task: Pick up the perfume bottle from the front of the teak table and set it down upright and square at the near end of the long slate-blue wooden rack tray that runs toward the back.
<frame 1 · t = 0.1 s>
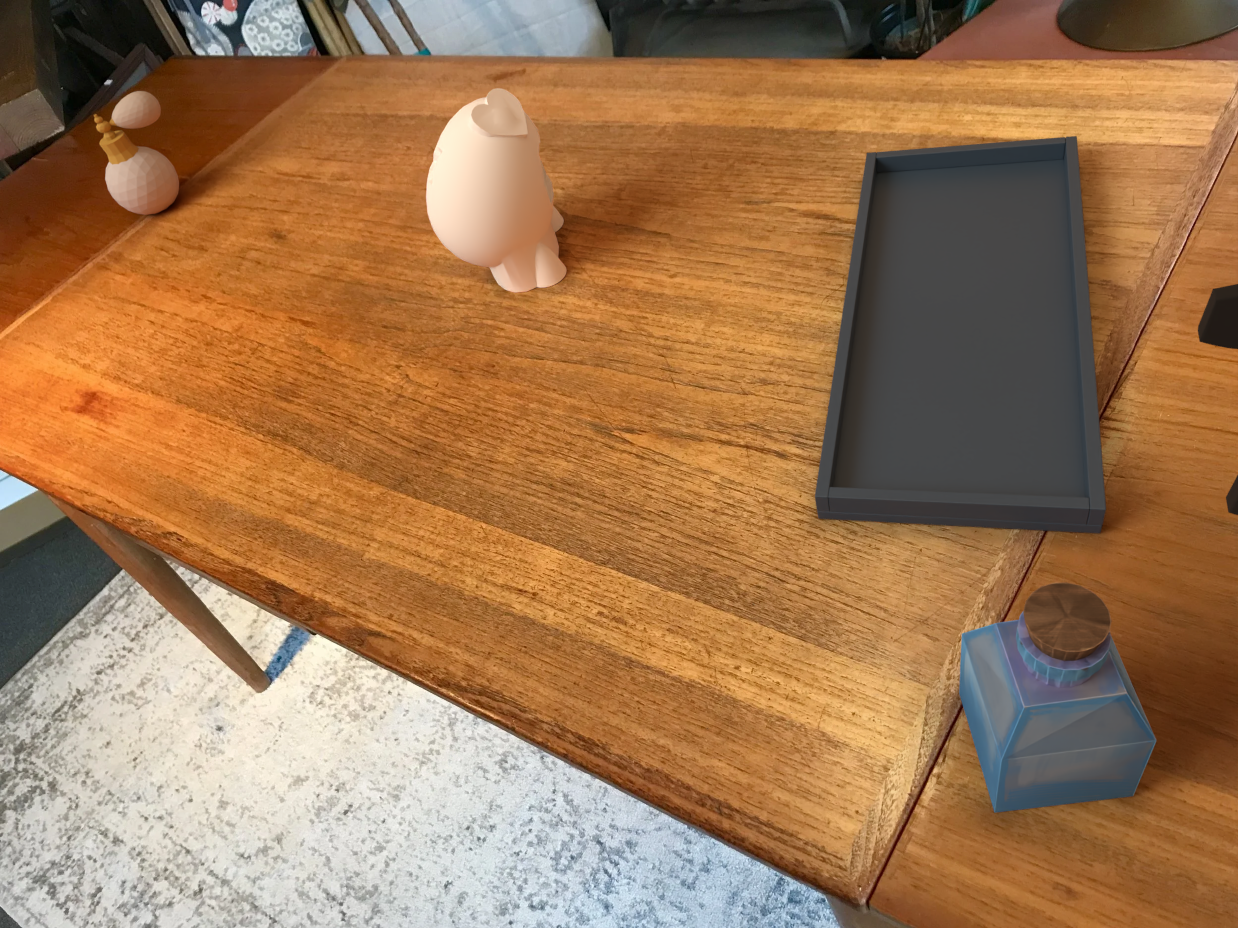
hand: (1220, 394, 31), 21 cm above the table, tool horizontal, fingers open, 7 cm apart
figurine: (518, 261, 83), on the table
rack tray: (961, 319, 65), on the table
perfume bottle 2: (169, 202, 109), on the table
perfume bottle: (1040, 743, 46), on the table
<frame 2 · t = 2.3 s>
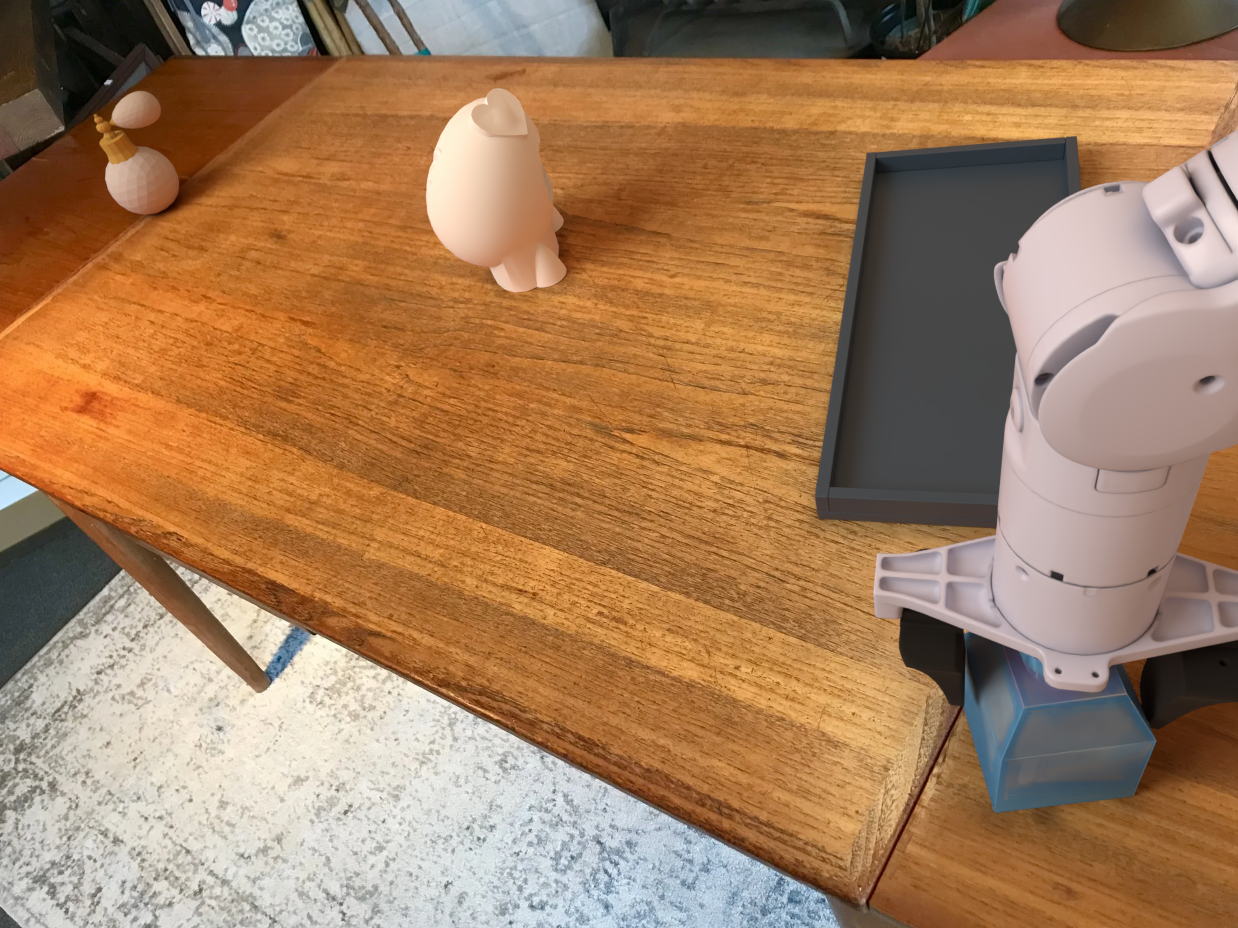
hand: (1049, 696, 42), 5 cm above the table, tool pointing down, fingers closed on perfume bottle, 7 cm apart
perfume bottle: (1040, 743, 46), on the table, touching gripper
everything else where it was.
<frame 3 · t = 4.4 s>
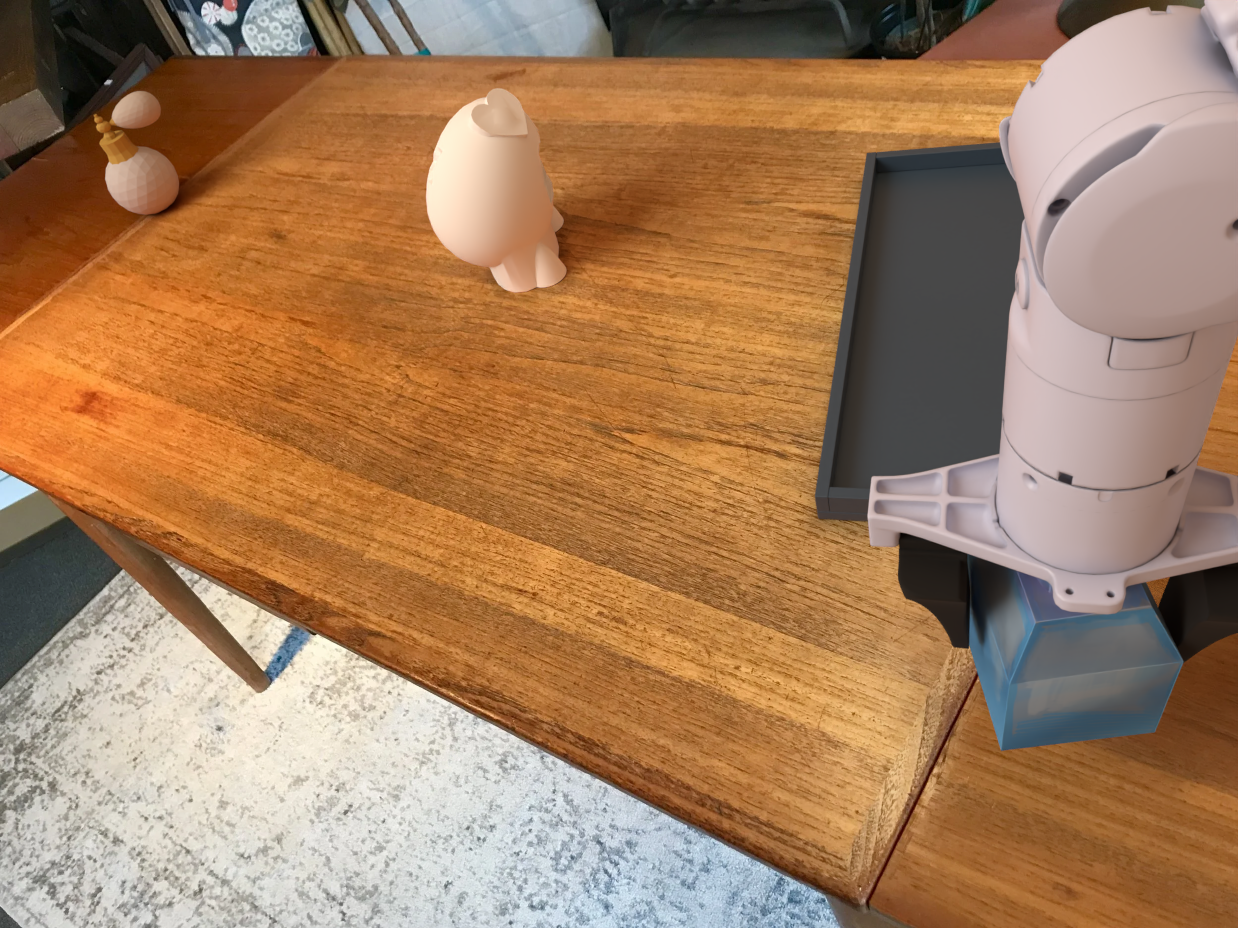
hand: (1059, 636, 39), 9 cm above the table, tool pointing down, fingers closed on perfume bottle, 7 cm apart
perfume bottle: (1052, 677, 42), point 6 cm above the table, touching gripper
everything else where it was.
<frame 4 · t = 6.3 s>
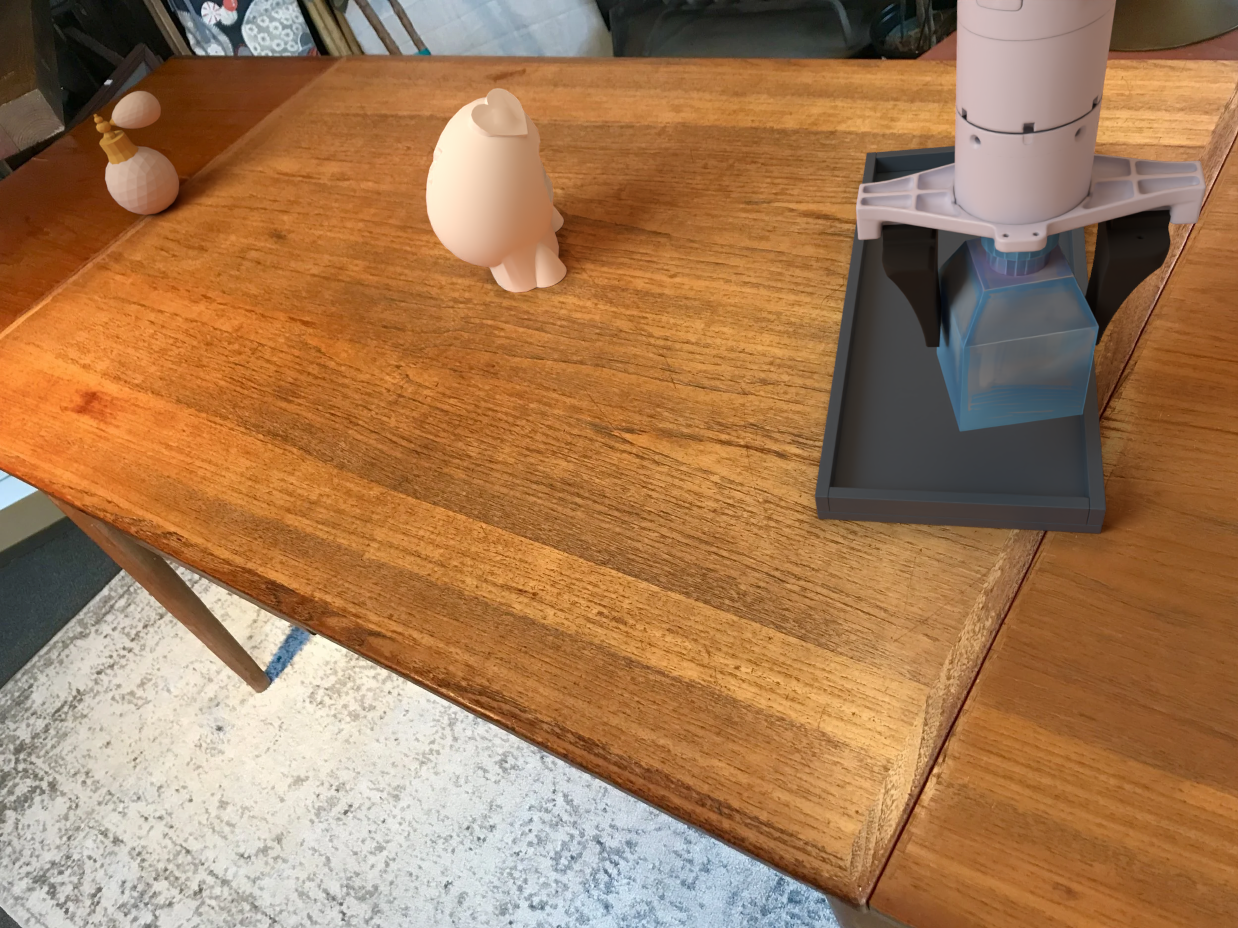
hand: (1009, 333, 49), 10 cm above the table, tool pointing down, fingers closed on perfume bottle, 7 cm apart
perfume bottle: (1005, 384, 52), point 7 cm above the table, touching gripper
everything else where it was.
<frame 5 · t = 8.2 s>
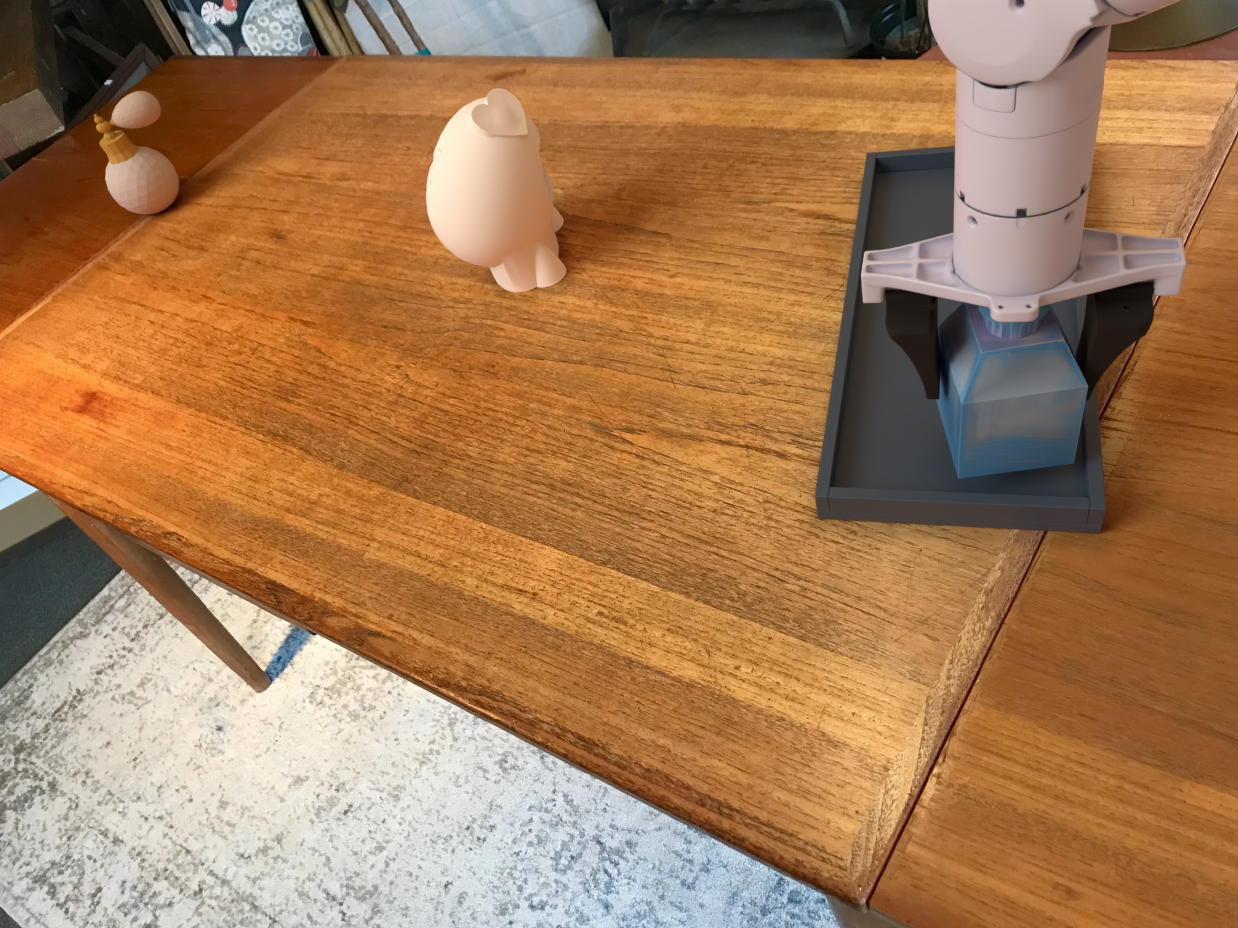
hand: (1004, 387, 52), 6 cm above the table, tool pointing down, fingers closed on perfume bottle, 7 cm apart
perfume bottle: (1001, 433, 55), point 3 cm above the table, touching gripper
everything else where it was.
when the fingers open (4 cm above the table, at t = 10.1 s): perfume bottle stays where it is, resting on rack tray.
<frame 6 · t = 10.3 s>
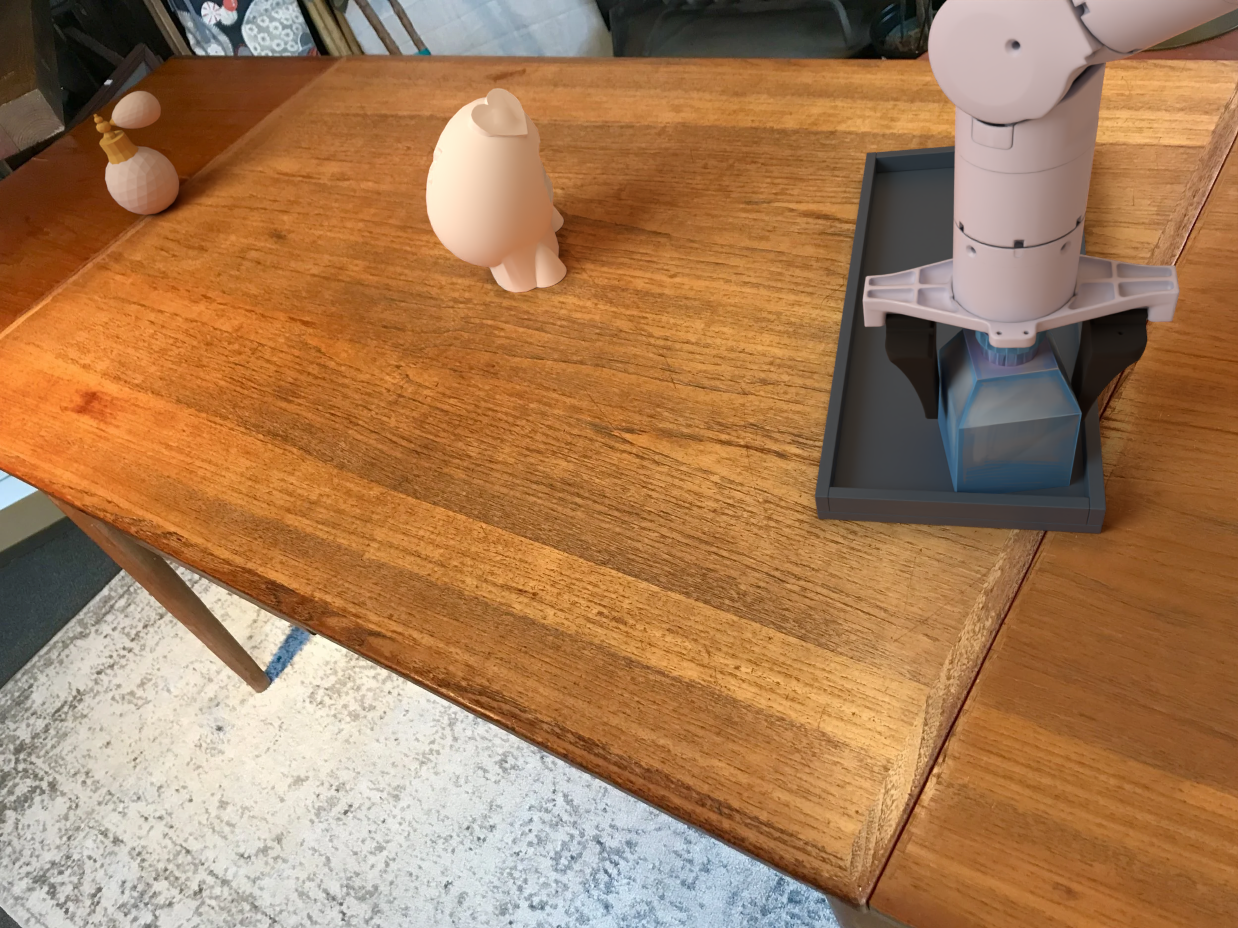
hand: (1002, 407, 54), 5 cm above the table, tool pointing down, fingers open, 7 cm apart
perfume bottle: (1000, 454, 56), point 1 cm above the table, touching rack tray
everything else where it was.
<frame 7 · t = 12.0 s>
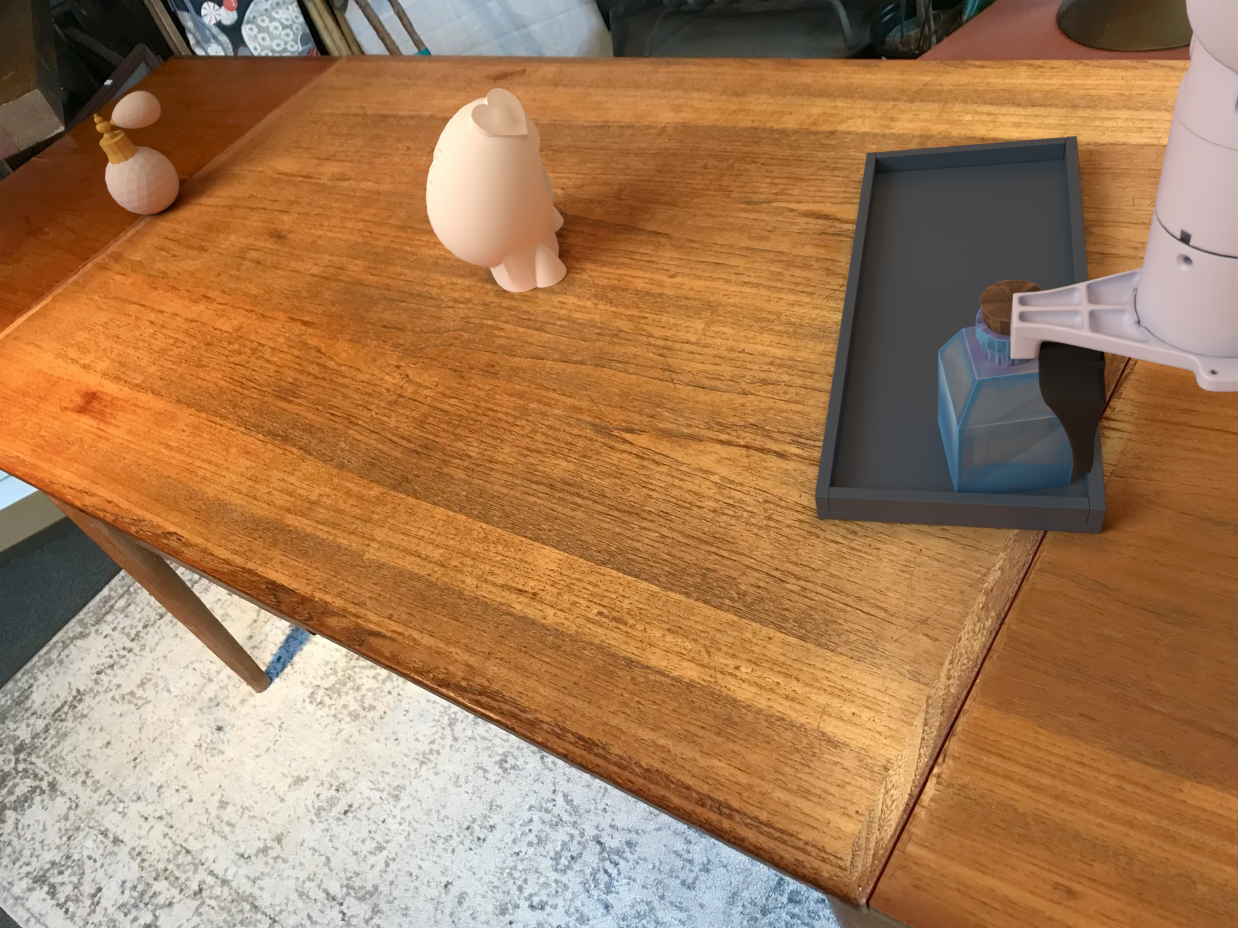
hand: (1175, 458, 42), 10 cm above the table, tool pointing down, fingers open, 7 cm apart
nothing on the table moved.
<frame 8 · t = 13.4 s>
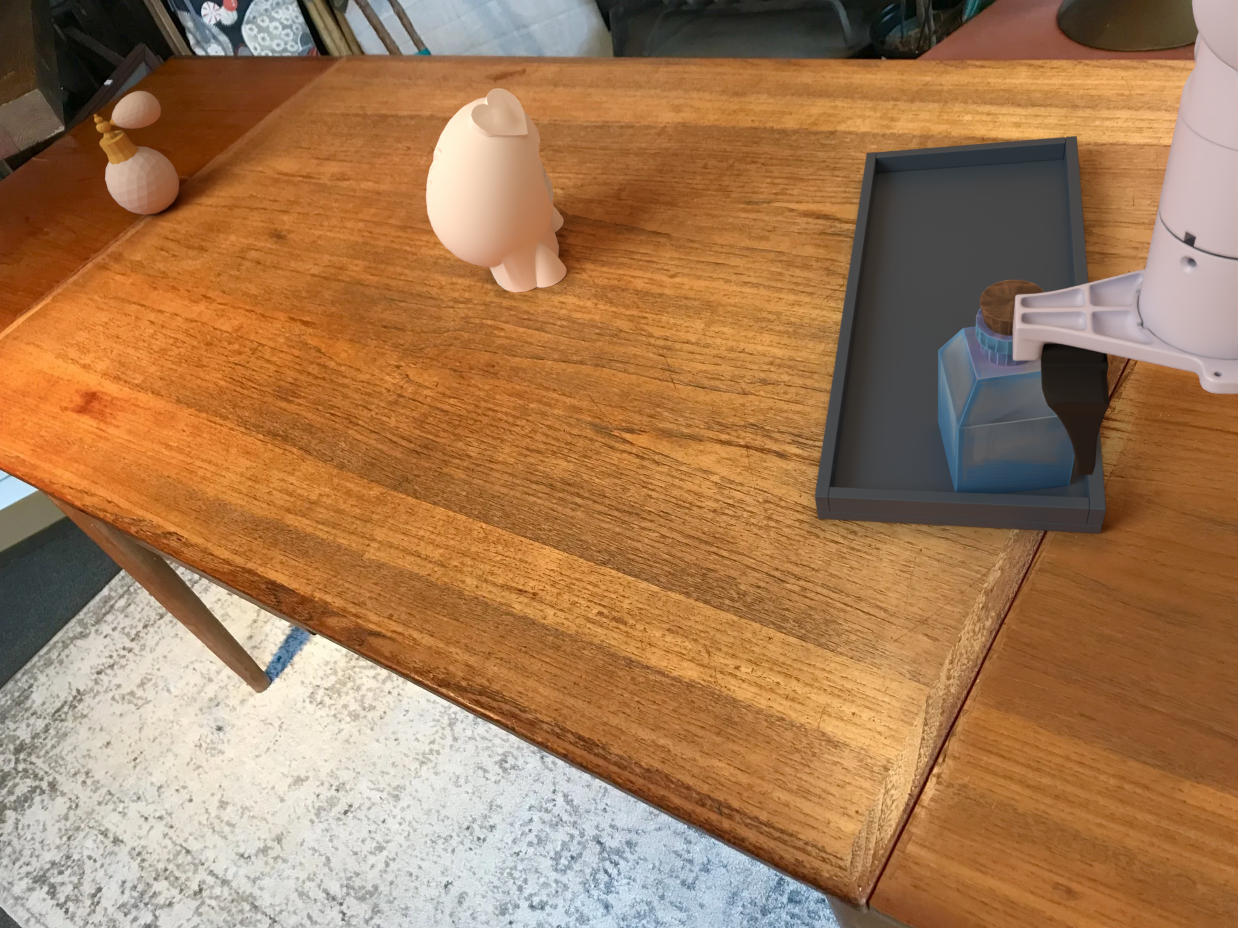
hand: (1177, 460, 42), 10 cm above the table, tool pointing down, fingers open, 7 cm apart
nothing on the table moved.
at the end: perfume bottle inside the target area in the rack tray (13.0 cm from its centre), point 0.6 cm above the rack tray's base; perfume bottle tilted 0°; the gripper is holding nothing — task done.
